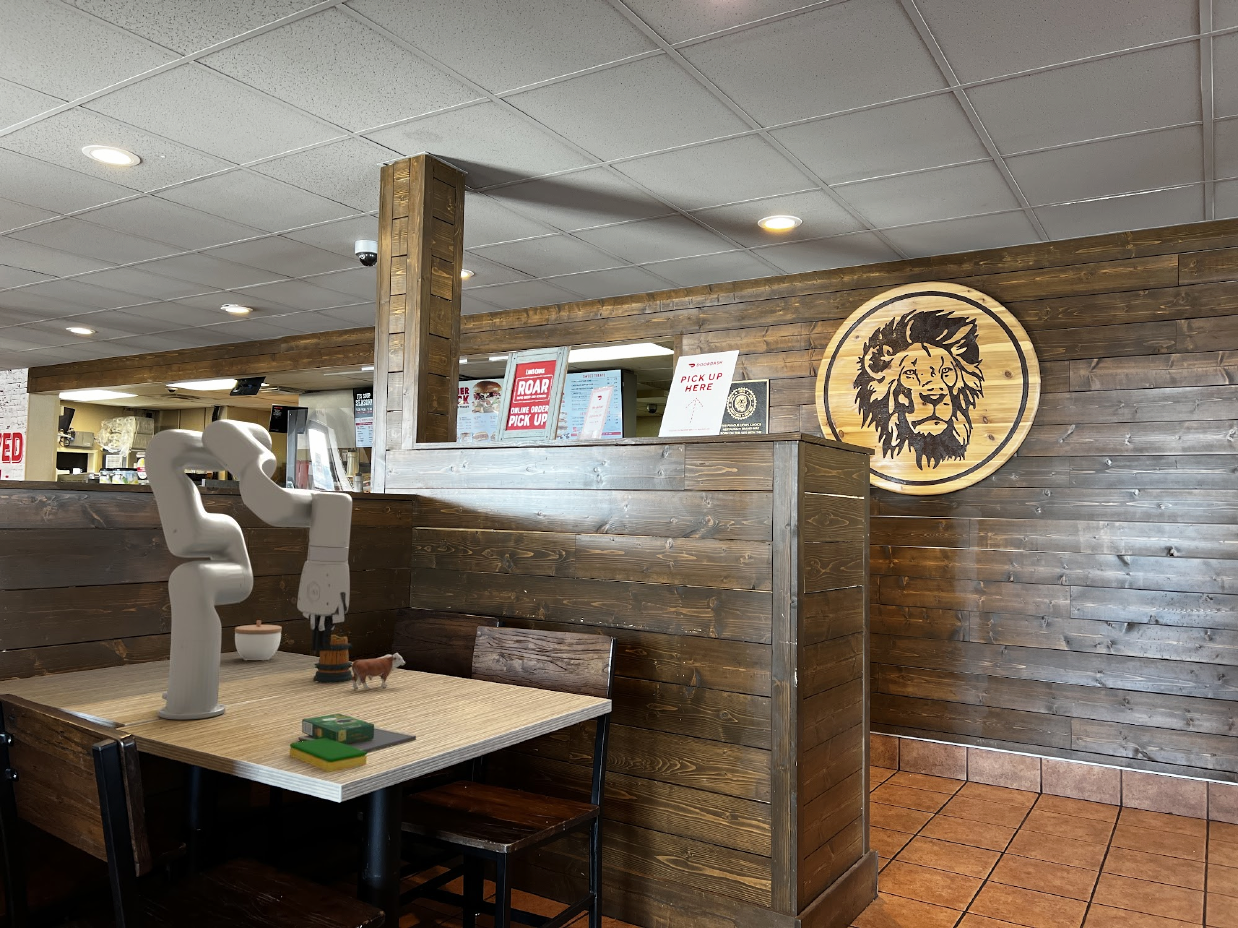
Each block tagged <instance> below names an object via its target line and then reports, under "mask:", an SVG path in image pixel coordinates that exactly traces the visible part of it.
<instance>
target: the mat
mask: <svg viewBox="0 0 1238 928" xmlns="http://www.w3.org/2000/svg"><path fill="white" fill-rule="evenodd" d="M315 739H318V738H315V737H312V736H310V735H304V736H299V737H298V740H300V741H299V742H301V741H309V740H315ZM416 739H417V735H416V734H410V733H406V732H400V731H396V730H391V729H386V728H381V727H376V726H374V739H370V740H365V741H359V742H354V743H348V744H346V745H348V746H351V747H354V748H357V749H360V750H362V751H365V752H367V751H370V752H373V751H372V750H374V749H378V750H380V749H379V748H381V749H384V747H385V748H387V747H386V746H389V747H392V746H391V745H393V746H396V745H399V744H398V743H400V744H404V743H406V742H405V741H408V742H411V741H414V740H415V741H416ZM298 740H297V741H298ZM410 740H411V741H410ZM403 742H404V743H403ZM374 751H375V750H374ZM367 753H368V752H367Z"/></svg>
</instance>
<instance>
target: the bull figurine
mask: <svg viewBox="0 0 1238 928" xmlns="http://www.w3.org/2000/svg"><path fill="white" fill-rule="evenodd" d="M405 664H406V661H404V659H403V657H402V656H401V655H400V654H399V653H398V652H396V653H394V654H386V655H384V656H381V657H377V658H368V659H356V660H354V661H353V662H352V664H351V665H352V667H351V671H352V672H353V678H352V680H351V681H352V688H353V689H354V690H358V689H359V687H358V686H360V687H361V684H362V685H363V689H364V690H366V691H368V690H369V691H370V690H371V687H370V686H369V685H368V684H367V681H366V678H367V677H368V679H369V681H372V679H373V678H374V677H380V680H381V682H382V683H381V685H380V687H382V688H384V689H386V688H387V686H388V684H387V682H386V681H387V679H388V677H389V676H390V674H391V673H393V672H394V671H395V669H396V668H398V667H399V666H404V665H405Z"/></svg>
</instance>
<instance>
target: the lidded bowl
mask: <svg viewBox="0 0 1238 928" xmlns="http://www.w3.org/2000/svg"><path fill="white" fill-rule="evenodd" d="M282 628H283V627H282V626H280V625H273V624H262V620H256V624H247V625H240V626H236V627H235V628H234V633H235V634H234V642H235V649H236V650H237V652H238V654H239V655H240V656H241V657H242V658H243V660H244V661H247V660H262V661H267V660H268V661H269V660H271V657H273V656H274V654H276V653H277V651H278V649H279V647H280V644H281V643H280V642H281V638H282Z"/></svg>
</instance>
